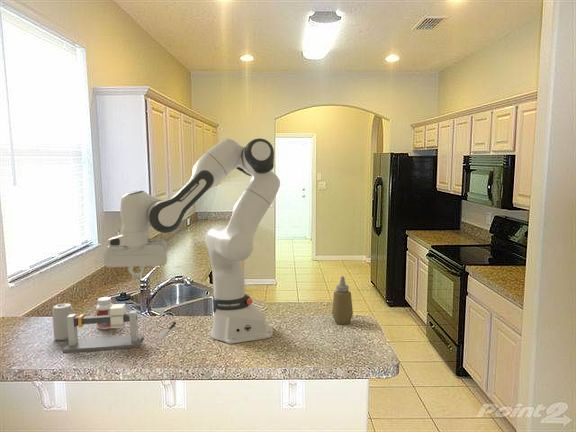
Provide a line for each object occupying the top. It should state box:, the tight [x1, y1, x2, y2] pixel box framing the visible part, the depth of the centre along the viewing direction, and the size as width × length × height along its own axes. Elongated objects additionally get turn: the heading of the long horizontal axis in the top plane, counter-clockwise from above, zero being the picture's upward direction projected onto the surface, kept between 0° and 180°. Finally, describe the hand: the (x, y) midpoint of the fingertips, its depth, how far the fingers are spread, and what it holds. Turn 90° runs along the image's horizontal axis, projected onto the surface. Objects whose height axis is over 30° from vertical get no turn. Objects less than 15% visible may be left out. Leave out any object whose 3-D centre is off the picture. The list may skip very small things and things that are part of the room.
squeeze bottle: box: [331, 275, 354, 325], centre depth 167 cm, size 8×8×18 cm
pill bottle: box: [95, 296, 114, 330], centre depth 166 cm, size 6×6×11 cm
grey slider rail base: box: [62, 309, 144, 353], centre depth 149 cm, size 24×9×11 cm, turn 99°
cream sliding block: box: [110, 303, 127, 329], centre depth 149 cm, size 4×5×7 cm
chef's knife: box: [157, 321, 176, 341], centre depth 160 cm, size 19×1×3 cm
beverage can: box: [51, 302, 74, 341], centre depth 155 cm, size 6×6×12 cm
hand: (137, 279), depth 149 cm, fingers closed
